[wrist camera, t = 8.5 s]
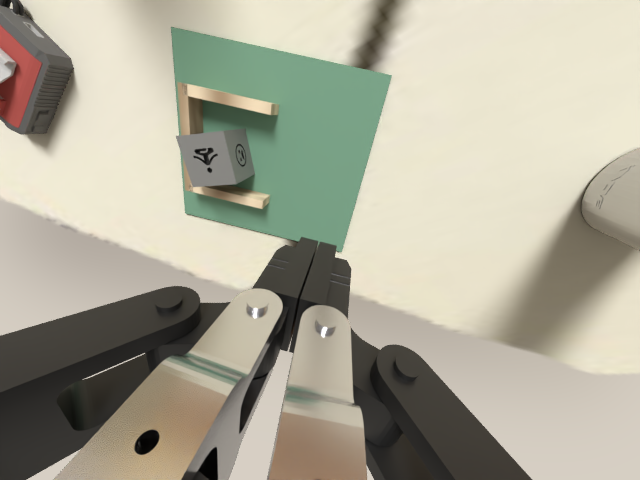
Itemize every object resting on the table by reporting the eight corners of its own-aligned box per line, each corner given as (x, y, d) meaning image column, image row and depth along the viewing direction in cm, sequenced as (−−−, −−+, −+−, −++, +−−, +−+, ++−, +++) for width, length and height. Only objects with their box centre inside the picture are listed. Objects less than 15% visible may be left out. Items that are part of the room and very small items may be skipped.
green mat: (391, 75, 23) (391, 75, 23) (341, 251, 33) (341, 252, 32) (173, 27, 24) (171, 26, 24) (186, 212, 33) (185, 213, 33)
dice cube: (245, 128, 27) (223, 130, 22) (255, 173, 29) (236, 184, 25) (204, 132, 28) (175, 136, 23) (217, 176, 30) (192, 187, 26)
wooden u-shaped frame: (279, 104, 25) (271, 103, 23) (269, 202, 31) (262, 209, 28) (192, 84, 26) (177, 81, 23) (197, 184, 31) (185, 190, 29)
